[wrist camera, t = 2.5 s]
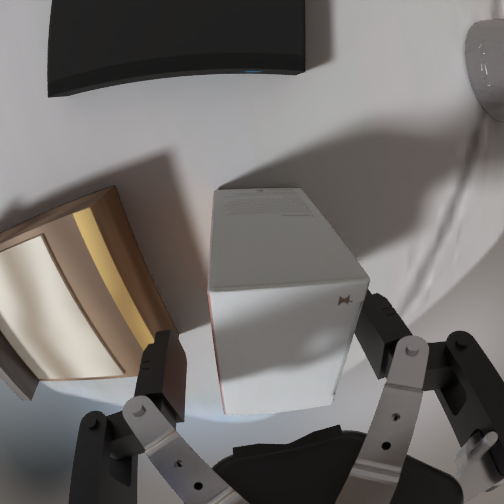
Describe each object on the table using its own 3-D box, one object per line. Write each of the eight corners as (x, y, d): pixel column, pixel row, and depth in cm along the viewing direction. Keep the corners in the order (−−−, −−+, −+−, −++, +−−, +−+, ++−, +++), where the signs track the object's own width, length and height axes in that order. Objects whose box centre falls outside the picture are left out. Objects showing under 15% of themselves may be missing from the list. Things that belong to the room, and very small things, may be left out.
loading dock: (114, 185, 17) (70, 226, 12) (178, 334, 24) (171, 399, 18) (-23, 244, 18) (-64, 284, 12) (43, 352, 24) (21, 400, 18)
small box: (213, 187, 18) (203, 285, 9) (302, 185, 19) (375, 275, 9) (219, 293, 22) (221, 419, 13) (294, 289, 23) (333, 407, 13)
